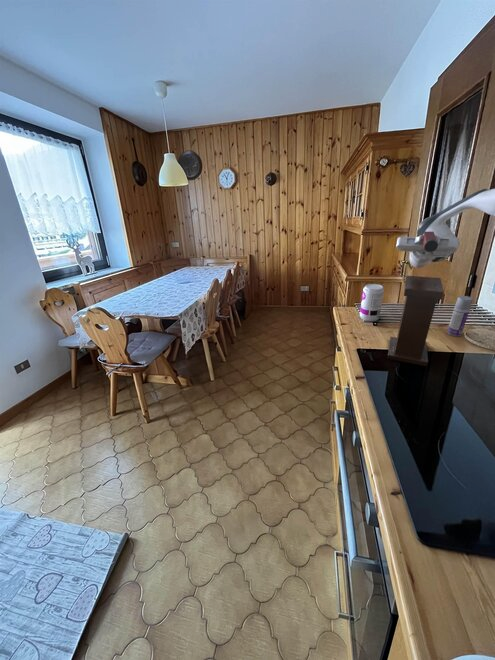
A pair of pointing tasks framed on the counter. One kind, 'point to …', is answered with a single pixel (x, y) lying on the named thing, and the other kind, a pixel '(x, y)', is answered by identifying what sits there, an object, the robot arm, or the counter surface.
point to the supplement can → (371, 302)
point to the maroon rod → (430, 242)
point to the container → (459, 315)
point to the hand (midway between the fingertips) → (429, 237)
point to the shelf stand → (415, 320)
